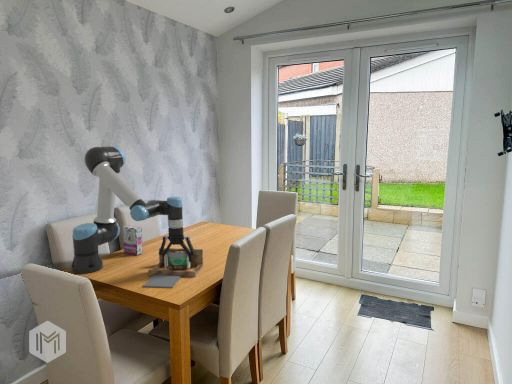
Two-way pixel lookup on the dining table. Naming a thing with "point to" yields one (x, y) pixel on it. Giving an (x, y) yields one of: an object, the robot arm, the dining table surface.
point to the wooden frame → (196, 261)
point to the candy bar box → (132, 240)
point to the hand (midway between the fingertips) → (177, 267)
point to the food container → (178, 260)
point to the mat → (162, 281)
